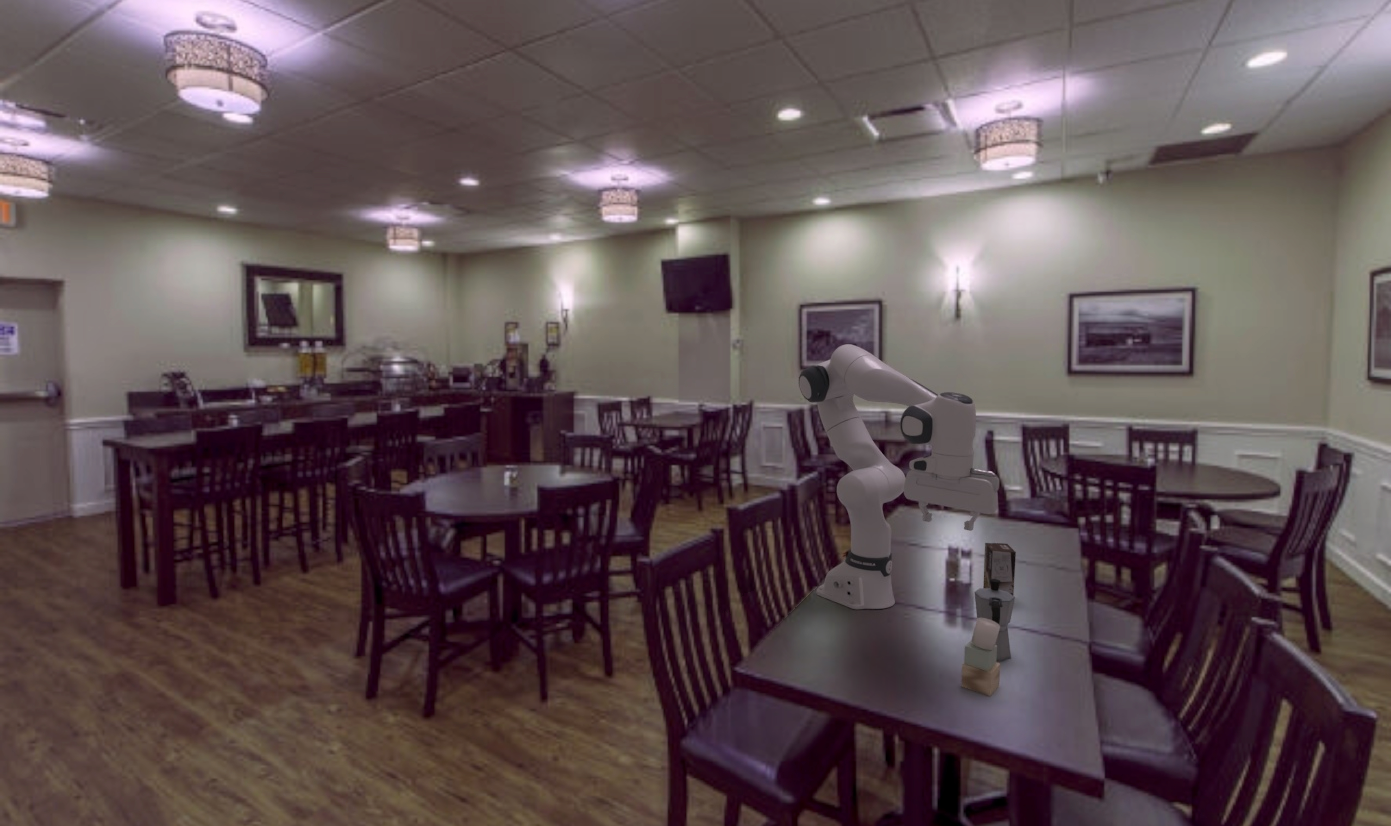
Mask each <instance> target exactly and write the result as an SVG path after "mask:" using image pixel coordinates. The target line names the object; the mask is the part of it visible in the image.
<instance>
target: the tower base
mask: <svg viewBox="0 0 1391 826" xmlns="http://www.w3.org/2000/svg"><path fill="white" fill-rule="evenodd" d="M1000 675H1001V663H1000V662H998V661H996V664H995V665H994V666H993V667H992V668H991V669H990V670H989V671H985V670H982V669H979V668H976V667H972V666H969V665H966V664H964V662H963V663H962V664H961V681H960V682H961V683H960V684H961V685H960V686H963V687H962V688H964V687H965V689H967V688H968V690H970V689H971V691H974V692H976V693H979V694H981V695H986V696H989V697H991V696H992V695H993V694H994V692H995V691H996V690H997V689H998V688H999V687H1000V678H1001V676H1000Z"/></svg>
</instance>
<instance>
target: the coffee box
mask: <svg viewBox="0 0 1391 826" xmlns="http://www.w3.org/2000/svg"><path fill="white" fill-rule="evenodd" d="M1016 554H1017V552H1016V551H1015V550H1014V549H1013V548H1012V547H1011V546H1010V544H1008V543H1002V542H985V543H984V555H983V556H984V560H983V561H984V563H983V588H991V586H990V579H998V580H1000V585H999V590H1003V591H1007V592H1009V593H1010V594H1011V595H1013V596H1014V592H1015V591H1014V589H1015V576H1016V574H1015V572H1016V556H1017V555H1016Z"/></svg>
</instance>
